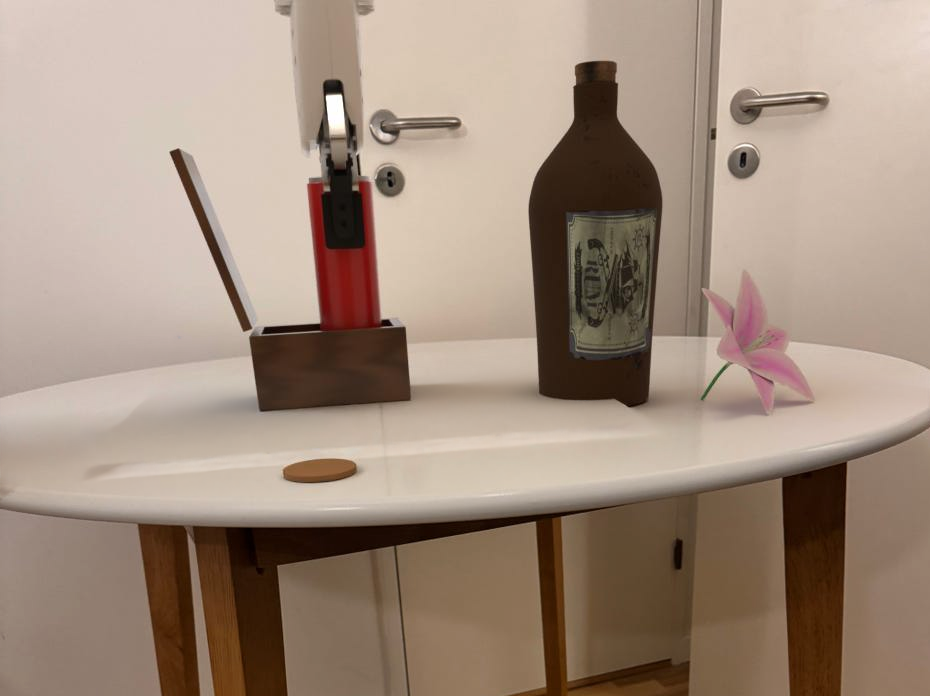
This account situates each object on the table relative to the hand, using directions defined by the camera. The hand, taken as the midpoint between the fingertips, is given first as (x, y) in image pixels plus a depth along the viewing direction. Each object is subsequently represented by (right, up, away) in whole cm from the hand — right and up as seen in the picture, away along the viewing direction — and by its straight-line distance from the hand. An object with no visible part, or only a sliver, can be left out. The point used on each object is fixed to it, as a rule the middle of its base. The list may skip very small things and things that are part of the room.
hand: (344, 245), depth 78 cm
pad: (+1, -22, -16) cm, 27 cm away
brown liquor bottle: (+21, -12, +3) cm, 25 cm away
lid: (-10, 0, -2) cm, 10 cm away
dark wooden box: (-1, -12, +5) cm, 13 cm away
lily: (+33, -14, -2) cm, 36 cm away
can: (0, -8, +3) cm, 8 cm away
